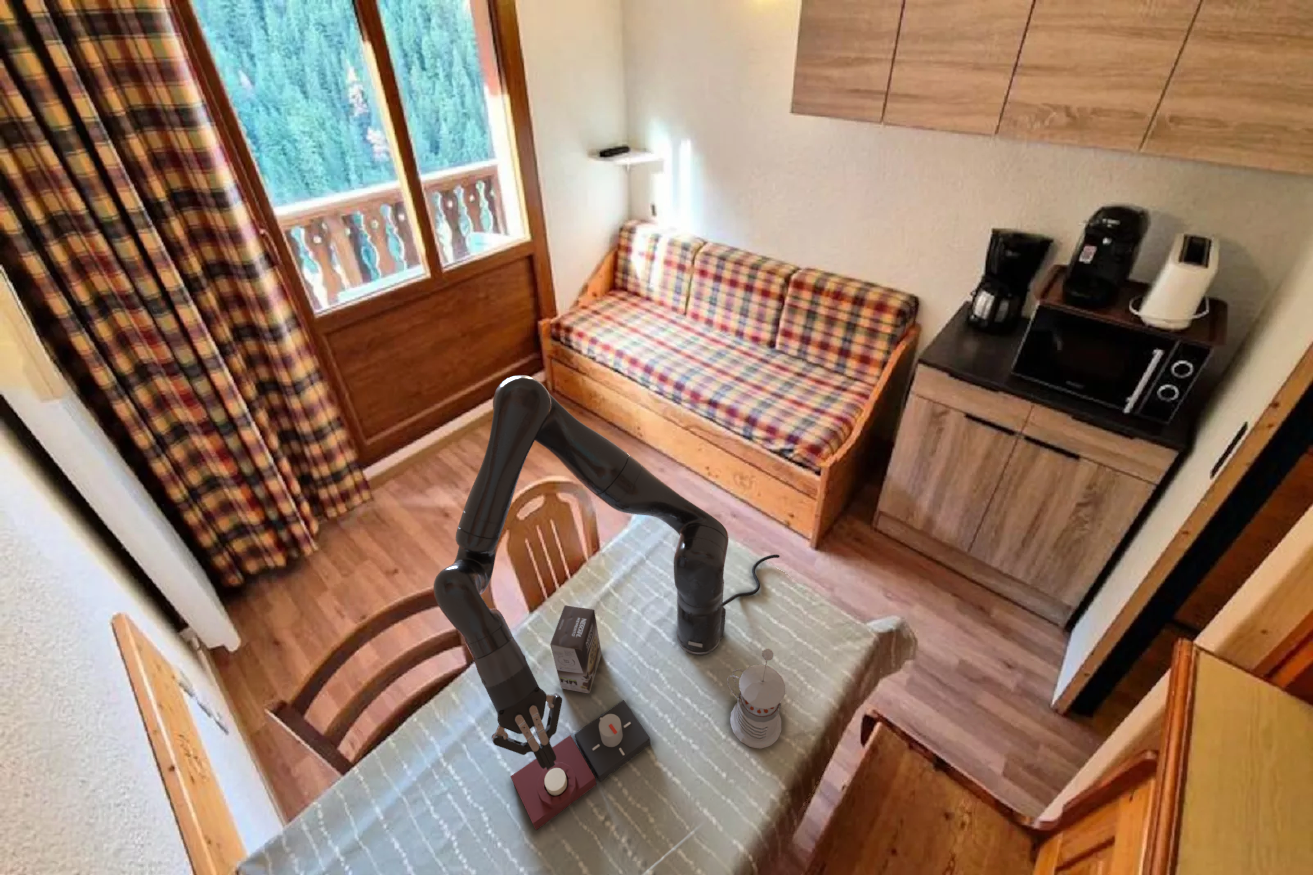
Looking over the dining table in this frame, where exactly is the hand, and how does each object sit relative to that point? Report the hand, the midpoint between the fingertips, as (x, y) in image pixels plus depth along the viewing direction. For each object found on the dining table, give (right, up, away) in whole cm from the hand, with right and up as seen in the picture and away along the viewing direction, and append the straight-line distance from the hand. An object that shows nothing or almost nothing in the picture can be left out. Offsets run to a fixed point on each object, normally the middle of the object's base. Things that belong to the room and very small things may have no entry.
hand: (550, 766), depth 95 cm
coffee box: (+2, +6, +24) cm, 25 cm away
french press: (+36, 0, +15) cm, 39 cm away
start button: (+1, -5, +3) cm, 6 cm away
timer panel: (+9, -3, +13) cm, 16 cm away
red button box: (-1, -7, +7) cm, 10 cm away
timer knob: (+9, -1, +11) cm, 14 cm away
